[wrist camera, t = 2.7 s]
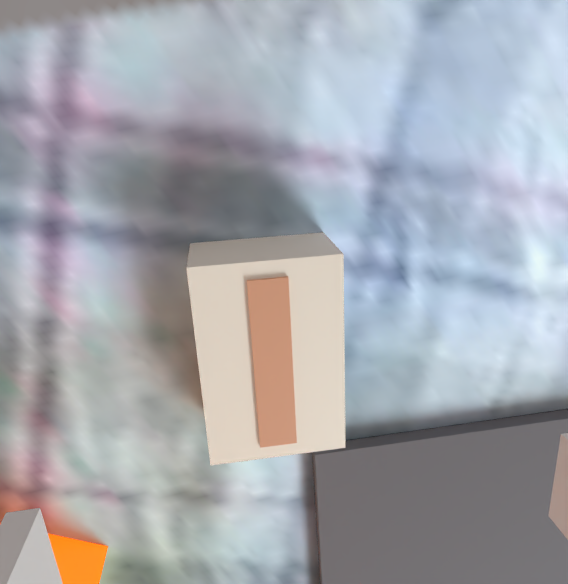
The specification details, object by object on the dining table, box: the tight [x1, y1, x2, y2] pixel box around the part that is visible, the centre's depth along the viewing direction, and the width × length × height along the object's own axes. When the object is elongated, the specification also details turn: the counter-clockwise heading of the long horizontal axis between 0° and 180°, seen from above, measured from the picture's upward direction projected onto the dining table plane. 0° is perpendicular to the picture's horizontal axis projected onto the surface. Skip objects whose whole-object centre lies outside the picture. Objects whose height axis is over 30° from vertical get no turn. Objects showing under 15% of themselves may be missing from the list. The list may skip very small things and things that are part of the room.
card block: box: [186, 232, 345, 465], centre depth 22 cm, size 6×9×4 cm, turn 3°
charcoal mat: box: [313, 409, 568, 584], centre depth 30 cm, size 20×14×1 cm
